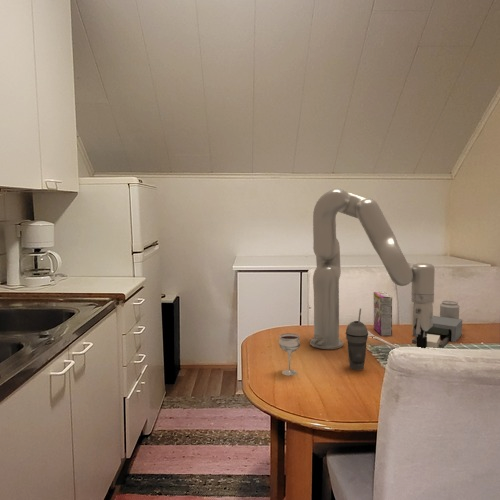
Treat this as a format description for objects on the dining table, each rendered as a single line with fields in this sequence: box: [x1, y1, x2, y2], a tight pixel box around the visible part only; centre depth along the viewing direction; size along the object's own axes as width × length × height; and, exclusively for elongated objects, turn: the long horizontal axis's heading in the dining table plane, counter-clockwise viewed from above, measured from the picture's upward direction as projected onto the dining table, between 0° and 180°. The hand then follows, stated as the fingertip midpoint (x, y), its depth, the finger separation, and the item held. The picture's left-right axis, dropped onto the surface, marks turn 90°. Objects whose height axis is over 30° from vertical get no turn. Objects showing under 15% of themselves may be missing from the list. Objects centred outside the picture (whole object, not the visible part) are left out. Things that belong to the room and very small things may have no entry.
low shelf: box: [411, 315, 463, 348], centre depth 167 cm, size 22×16×6 cm
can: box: [439, 300, 460, 319], centre depth 179 cm, size 8×8×12 cm
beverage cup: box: [345, 308, 369, 371], centre depth 137 cm, size 7×7×20 cm
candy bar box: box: [373, 291, 393, 337], centre depth 176 cm, size 11×5×16 cm, turn 179°
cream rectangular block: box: [415, 333, 441, 349], centre depth 160 cm, size 10×7×3 cm
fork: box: [367, 329, 398, 349], centre depth 165 cm, size 3×20×2 cm, turn 22°
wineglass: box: [278, 332, 301, 377], centre depth 134 cm, size 7×7×12 cm
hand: (421, 347), depth 153 cm, fingers closed
